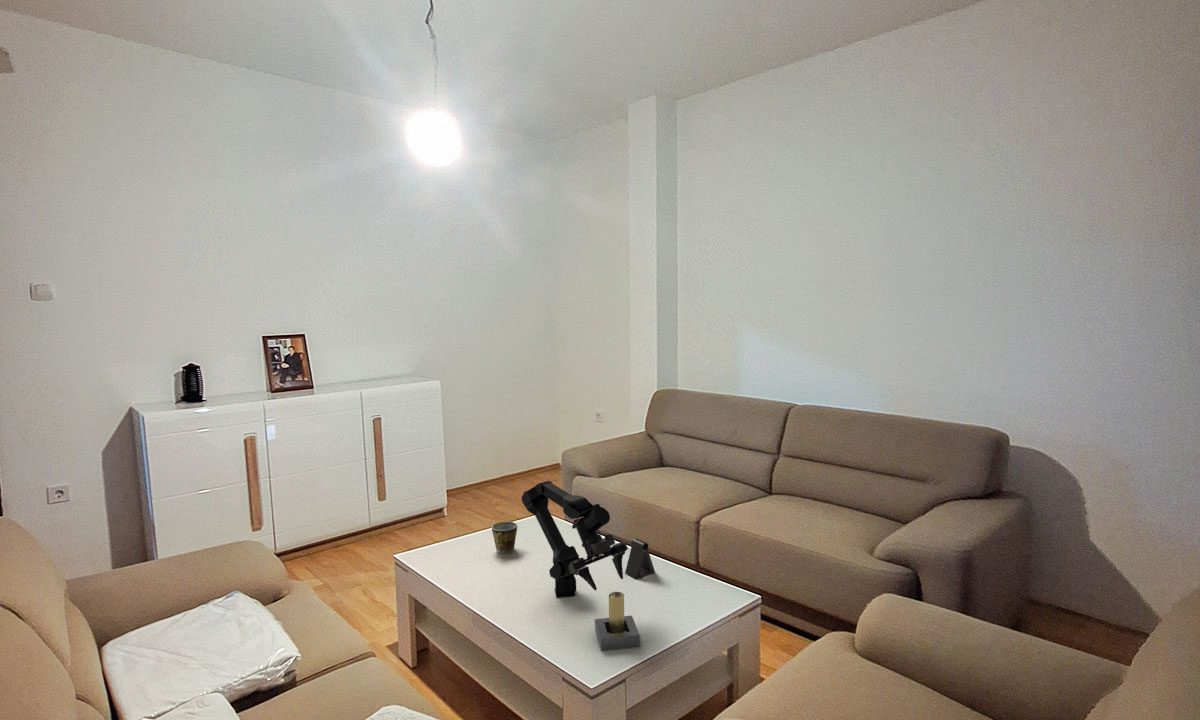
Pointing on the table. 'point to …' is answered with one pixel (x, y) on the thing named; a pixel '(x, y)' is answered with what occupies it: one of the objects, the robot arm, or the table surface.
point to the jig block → (617, 635)
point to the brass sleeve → (616, 612)
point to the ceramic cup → (504, 536)
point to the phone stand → (639, 560)
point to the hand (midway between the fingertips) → (609, 584)
